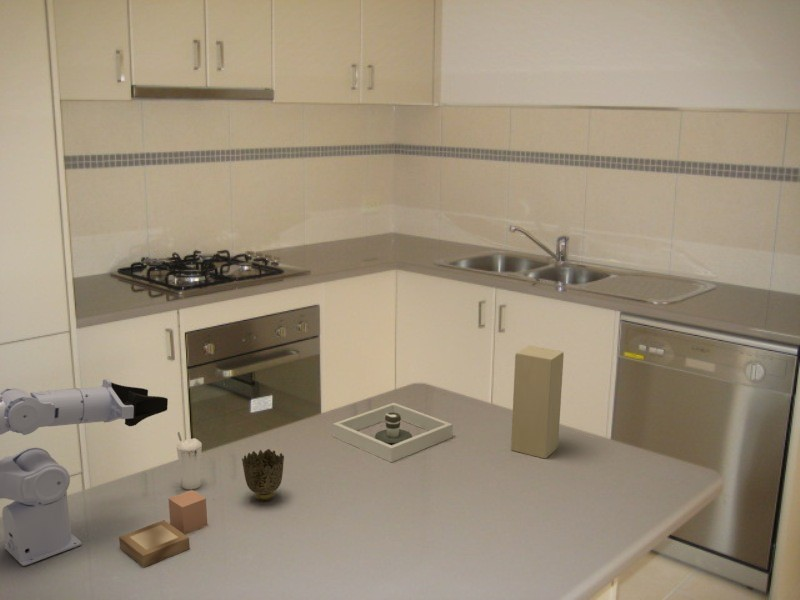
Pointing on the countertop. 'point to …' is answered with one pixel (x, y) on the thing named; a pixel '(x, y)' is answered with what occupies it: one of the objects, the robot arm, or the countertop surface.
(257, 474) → the cup
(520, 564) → the countertop surface
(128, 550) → the base slab
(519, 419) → the tan tall block
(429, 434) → the cup tray
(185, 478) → the milkshake
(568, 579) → the countertop surface
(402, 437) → the coffee cup
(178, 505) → the block
